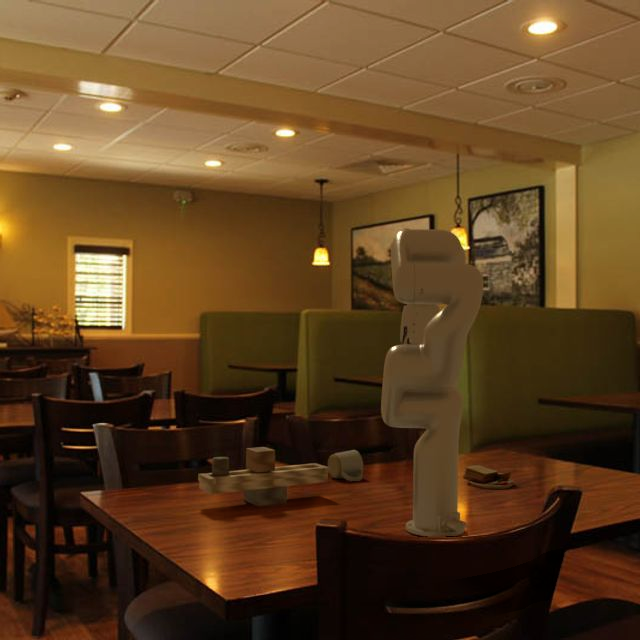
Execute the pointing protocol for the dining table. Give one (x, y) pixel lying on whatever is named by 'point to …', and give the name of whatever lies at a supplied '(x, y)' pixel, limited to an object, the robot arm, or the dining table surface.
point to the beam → (260, 481)
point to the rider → (260, 459)
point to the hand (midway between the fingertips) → (421, 372)
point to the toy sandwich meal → (487, 477)
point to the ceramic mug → (346, 465)
